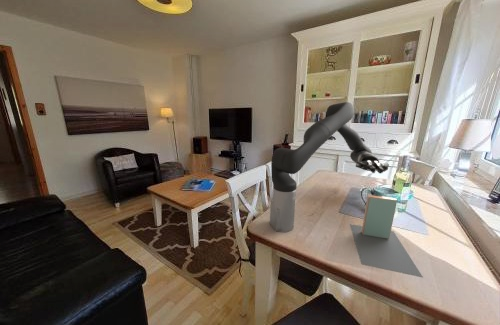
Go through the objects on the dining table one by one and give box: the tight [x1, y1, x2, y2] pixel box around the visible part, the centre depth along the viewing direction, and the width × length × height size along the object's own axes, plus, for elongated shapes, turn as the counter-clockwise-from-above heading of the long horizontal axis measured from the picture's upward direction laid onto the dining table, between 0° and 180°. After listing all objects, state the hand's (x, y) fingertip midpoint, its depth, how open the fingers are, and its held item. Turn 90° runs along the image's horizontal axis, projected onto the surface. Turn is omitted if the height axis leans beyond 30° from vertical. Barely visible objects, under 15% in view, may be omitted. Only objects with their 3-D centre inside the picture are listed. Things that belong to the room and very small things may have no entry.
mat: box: [349, 224, 424, 278], centre depth 71 cm, size 24×16×1 cm, turn 162°
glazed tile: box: [361, 194, 398, 239], centre depth 75 cm, size 2×9×16 cm, turn 71°
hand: (377, 170), depth 80 cm, fingers closed
